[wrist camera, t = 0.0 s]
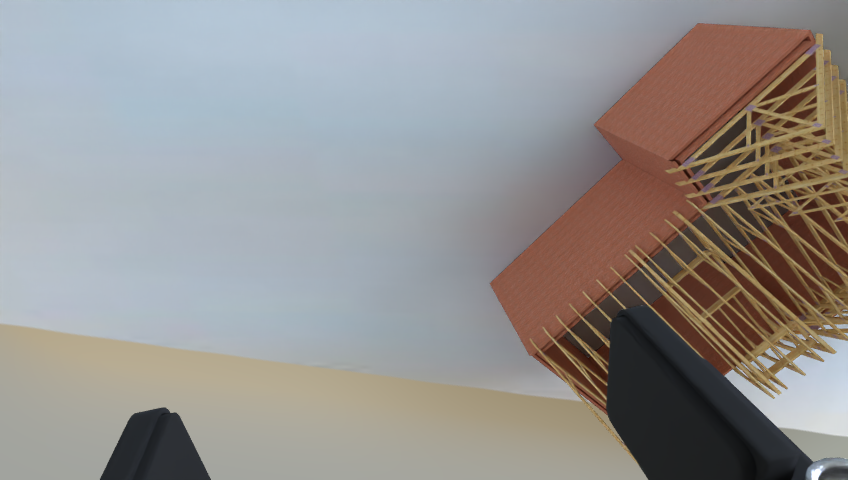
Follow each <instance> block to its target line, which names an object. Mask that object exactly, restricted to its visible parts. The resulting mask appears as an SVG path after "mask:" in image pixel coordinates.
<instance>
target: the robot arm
mask: <svg viewBox="0 0 848 480" xmlns="http://www.w3.org/2000/svg"><path fill="white" fill-rule="evenodd" d="M606 409H607V414H608V417H609V419H610V421H611V423H612V425H613V426H614V428H615V429H616V431H617V433H618V434H619V436H620V437H621V439H622V440H623V441H624V443H625V445H626V446H627V448H628V449H629V451H630V452H631V454H632V455H633V457H634V458H635V460H636V461H637V463H638V464H639V466H640V467H641V469H642V470H643V472H644V474H645V475H646V477H647V478H648V480H848V459H844V458H824V459H821V460H818V461H816V462H813V461H812V460H811V459H810V458H809V457H808V456H806V454H804V453H803V452H802V451H801V450H800V449H799V448H798V447H797V446H796V445H795V444H794V443H793V442H792V441H791V440H790V439H789V438H788V437H787V436H786V435H785V434H784V433H783V432H782V431H781V430H779V428H777V427H776V426H775V425H774V424H773V423H772V422H771V421H770V420H769V419H768V418H767V417H766V416H765V415H764V414H763V413H762V412H761V411H760V410H759V409H758V408H757V407H756V406H755V405H754V404H753V403H751V402H750V401H749V400H748V399H747V398H746V397H745V396H744V395H743V394H742V393H741V392H740V391H739V390H738V389H737V388H736V387H735V386H734V385H733V384H732V383H731V382H730V381H729V380H728V379H727V378H726V377H724V376H723V375H722V374H721V373H720V372H719V371H718V370H717V369H716V368H715V367H714V366H713V365H712V364H711V363H710V362H708V361H707V360H706V359H704V358H702V357H701V356H700V355H699V354H698V353H696V352H695V351H694V350H693V349H692V348H691V347H690V346H689V345H688V344H687V343H686V342H685V341H684V340H683V339H682V338H681V337H680V336H679V335H678V334H677V333H676V332H675V331H674V330H673V329H672V328H671V327H670V326H669V325H668V324H667V323H666V322H665V321H664V320H662V319H661V318H660V317H659V316H658V315H657V314H656V313H655V312H654V311H653V310H652V309H651V308H650V307H648V306H646V305H642V306H637V307H632V308H628V309H623V310H620V311H619V312H618V314H617V318H614V319H612V321H611V328H610V346H609V364H608V382H607V401H606ZM100 480H211V479H210V477H209V475H208V473H207V471H206V469H205V467H204V465H203V463H202V461H201V459H200V457H199V455H198V453H197V451H196V449H195V446H194V444H193V442H192V440H191V438H190V436H189V434H188V432H187V430H186V428H185V426H184V424H183V422H182V420H181V418H180V416H179V415H178V414H177V413H170V411H169V410H168V409H166V408H158V409H153V410H149V411H144V412H139V413H135V414H133V415H132V416H131V418H130V419H129V421H128V423H127V425H126V427H125V429H124V431H123V433H122V435H121V437H120V439H119V441H118V443H117V446H116V447H115V450H114V452H113V454H112V456H111V458H110V460H109V462H108V464H107V466H106V468H105V470H104V472H103V474H102V476H101V478H100Z"/></svg>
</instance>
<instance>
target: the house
mask: <svg viewBox="0 0 848 480" xmlns="http://www.w3.org/2000/svg"><path fill="white" fill-rule="evenodd" d="M741 109H742V111H741V112H739V111H740V110H741ZM738 112H739V113H738ZM736 113H738V114H737V115H736V116H735V117H734V118H733V119H732V120H731V121H730V122H728V121H729V120H730V119H731V118H732V117H733V116H734V115H735V114H736ZM744 115H746V116H747V129H745V130H744V131H743V132H742V133H741V134H740V135H739V136H738V137H736V138H735V139H734V140H733V141H732V142H731V143H730V144H729V145H727V146H726V147H725V148H724V149H723V150H722V151H721V152H720V153H719V154H717V155H715V156H712V157H709V158H705V159H702V160H699V161H695V159H696V158H697V157H698V156H700V155H701V154H702V153H703V152H704V151H705V150H706V149H707V148H708V147H710V146H711V145H712V144H713V143H714V142H715V141H716V140H717V139H718V138H720V137H721V136H722V135H723V134H724V133H725V132H726V131H727V130H728V129H730V128H731V127H732V126H733V125H734V124H735V123H736V122H737V121H738V120H739V119H741V118H742V117H743V116H744ZM727 122H728V123H727ZM725 123H727V124H726V125H725V126H724V127H723V128H722V129H721V130H720V131H718V130H719V129H720V128H721V127H722V126H723V125H724V124H725ZM594 126H595V127H596V128H597V129H598V131H599V132H600V133H601V134H602V135H603V137H604V138H605V139H606V140H607V141H608V143H609V144H610V145H611V146H612V147H613V149H614V150H615V151H616V152H617V153H618V155H619V156H620V157H621V158H622V160H621V161H620V162H619V163H618V164H617V165H616V166H614V167H613V168H612V169H611V170H610V171H609V172H608V173H607V174H606V175H605V176H604V177H603V178H602V179H601V180H600V181H599V182H597V183H596V184H595V185H594V186H593V187H592V188H591V189H590V190H589V191H588V192H587V193H586V194H585V195H584V196H583V197H581V198H580V199H579V200H578V201H577V202H576V203H575V204H574V205H573V206H572V207H571V208H570V209H569V210H568V211H567V212H565V213H564V214H563V215H562V216H561V217H560V218H559V219H558V220H557V221H556V222H555V223H554V224H553V225H552V226H551V227H549V228H548V229H547V230H546V231H545V232H544V233H543V234H542V235H541V236H540V237H539V238H538V239H537V240H536V241H535V242H533V243H532V244H531V245H530V246H529V247H528V248H527V249H526V250H525V251H524V252H523V253H522V254H521V255H520V256H519V257H517V258H516V259H515V260H514V261H513V262H512V263H511V264H510V265H509V266H508V267H507V268H506V269H505V270H504V271H503V272H501V273H500V274H499V275H498V276H497V277H496V278H495V279H494V280H493V281H492V282H491V283H490V285H491V287H492V289H493V291H494V292H495V294H496V296H497V298H498V300H499V301H500V303H501V305H502V307H503V309H504V310H505V312H506V314H507V316H508V318H509V319H510V321H511V323H512V325H513V327H514V328H515V330H516V332H517V334H518V336H519V338H520V339H521V341H522V343H523V345H524V347H525V348H526V350H527V352H528V354H529V356H533V357H534V358H535V359H536V360H538V361H539V362H540V363H542V364H543V365H544V366H545V367H547V368H548V369H549V370H550V371H552V372H553V373H554V374H556V375H557V376H558V377H559V378H561V379H562V380H563V381H565V382H566V383H567V384H568V385H569V386H570V388H571V389H572V390H573V391H574V392H575V393H576V394H577V396H578V397H579V398H580V399H581V400H582V401H583V402H584V404H585V405H586V406H587V407H588V408H589V409H590V410H591V412H592V413H593V414H594V415H595V416H596V417H597V418H598V419H599V421H600V422H601V423H602V424H603V425H604V426H605V427H606V429H608V431H609V432H610V433H611V434H612V435H613V437H614V438H615V439H616V440H617V441H618V442H619V443H620V444H621V446H622V447H623V448H624V449H625V450H626V451H627V453H628V454H629V455H630V456H631V457H632V458H633V459H634V460H635V458H634V457H633V455H632V454H631V452H630V451H629V449H628V448H627V446H626V445H625V444H624V443H623V442H622V441H620V439H619V438H618V437H617V436H616V435H615V434H614V433H613V432H612V430H611V429H610V428H609V427H608V426H607V425H606V424H605V422H604V421H603V420H602V419H601V418H600V417H599V416H598V415H597V414H596V412H595V411H594V410H593V409H592V408H591V407H590V405H589V404H588V403H587V402H586V401H585V400H584V398H583V397H582V396H584V397H585V398H586V399H588V400H589V401H590V402H591V403H593V404H594V405H595V406H597V407H598V408H599V409H600V410H602V411H603V412H604V413H605V414H607V409H606V401H607V382H608V364H609V346H610V340H608V339H607V338H606V337H605V336H604V335H602V334H601V333H600V332H599V331H598V330H597V329H596V328H595V327H593V326H592V325H591V324H590V323H589V322H588V321H587V320H586V319H585V318H584V317H585V316H586V315H587V314H588V313H590V312H591V311H592V310H593V309H594V308H595V307H597V308H598V310H599V311H600V312H601V313H602V314H603V315H604V316H605V317H606V318H607V319H608V320H609V321H610V322H611V321H612V319H611V318H610V317H609V316H608V315H607V314H606V313H605V312H604V311H603V310H602V309H600V308H599V307H598V305H599V304H600V303H601V302H602V301H603V300H604V299H606V298H607V297H608V296H609V295H611V296H612V297H613V298H614V299H615V300H616V301H617V302H618V303H619V304H620V305H621V306H622V307H623V308H624V309H627V308H626V307H625V306H624V305H623V304H622V303H621V302H620V301H619V300H618V299H617V298H616V297H615V296H614V295H613V294H612V293H613V292H614V291H615V290H616V289H617V288H618V287H619V286H621V285H622V284H623V283H624V282H625V283H626V284H627V285H628V286H629V287H630V288H631V289H632V290H633V291H634V292H635V293H636V294H637V295H638V296H639V297H640V298H641V299H642V300H643V301H644V302H645V303H646V304H647V305H648V306H649V307H650V308H651V309H652V310H653V311H654V312H655V313H656V314H657V315H658V316H659V317H660V318H661V319H662V320H664V321H665V322H666V323H667V324H668V325H669V326H670V327H671V328H672V329H673V330H674V331H675V332H676V333H677V334H678V335H679V336H680V337H681V338H682V339H683V340H684V341H685V342H686V343H687V344H688V345H689V346H690V347H691V348H692V349H693V350H694V351H695V352H696V353H698V354H699V355H700V356H701V357H702V358H704V359H706V360H707V361H708V362H710V363H711V364H712V365H713V366H714V367H715V368H716V369H717V370H718V371H719V372H720V373H721V374H722V375H723V376H724V375H725V374H727V373H728V372H729V371H731V370H732V369H733V370H734V371H735V372H737V373H738V374H739V375H741V376H742V377H744V378H745V379H746V380H748V381H749V382H751V383H752V384H753V385H755V386H756V387H758V388H759V389H760V390H762V391H763V392H765V393H766V394H768V395H769V396H770V397H772V398H773V399H774V398H775V397H774V396H773V395H772V394H770V393H769V392H768V391H767V390H766V389H765V388H764V387H763V386H762V385H761V384H760V383H762V384H763V385H765V386H766V387H768V388H769V389H771V390H772V391H774V392H775V393H777V394H778V395H780V394H781V392H780V391H779V390H778V389H777V388H776V387H775V386H774V385H773V384H772V383H771V382H770V381H769V380H768V379H770V380H772V381H773V382H775V383H777V384H779V385H780V386H782V387H784V388H785V389H788V388H787V387H786V386H785V385H784V384H783V383H782V382H781V381H780V380H779V379H778V378H777V377H776V376H775V374H776V373H777V372H779V371H780V370H781V369H783V368H784V367H787V368H789V369H791V370H793V371H795V372H798V373H800V374H802V375H804V376H805V375H806V374H805V373H804V372H803V371H802V370H801V369H799V368H798V367H797V366H796V365H795V364H794V363H793V362H792V361H793V360H795V359H796V358H797V357H799V356H800V355H804V356H807V357H810V358H813V359H816V360H819V361H822V362H824V360H823V359H822V358H821V357H820V356H819V355H818V354H816V353H815V352H814V351H813V350H812V349H811V348H814V349H818V350H821V351H825V352H828V353H832V354H835V353H836V351H835V350H834V349H833V348H832V347H831V346H829V345H828V344H827V343H826V342H825V341H824V340H823V339H821V338H820V337H819V336H818V335H822V336H826V337H831V338H836V339H841V340H846V341H848V336H847V335H845V334H844V333H848V328H847V329H838V328H837V327H836V326H835V324H848V316H843V315H842V314H848V102H847V90H846V81H845V80H843V79H839V69H838V65H831V51H830V50H826V49H824V56H823V34H818V33H816V40H815V38H814V36H813V34H812V32H811V30H803V29H786V28H770V27H753V26H737V25H720V24H704V23H698V24H697V25H696V26H695V27H694V28H693V29H692V30H691V31H690V32H689V33H688V34H687V35H686V36H684V37H683V38H682V39H681V40H680V41H679V42H678V43H677V44H676V45H675V46H674V47H673V48H672V49H671V50H670V51H669V52H668V53H667V54H666V55H665V56H664V57H663V58H662V59H661V60H660V61H659V62H658V63H657V64H656V65H655V66H654V67H653V68H652V69H651V70H650V71H648V72H647V73H646V74H645V75H644V76H643V77H642V78H641V79H640V80H639V81H638V82H637V83H636V84H635V85H634V86H633V87H632V88H631V89H630V90H629V91H628V92H627V93H626V94H625V95H624V96H623V97H622V98H621V99H620V100H619V101H618V102H617V103H616V104H615V105H614V106H612V107H611V108H610V109H609V110H608V111H607V112H606V113H605V114H604V115H603V116H602V117H601V118H600V119H599V120H598V121H597V122H596V123H595V124H594ZM753 129H755V130H756V142H755V143H754V144H752V145H751V131H752V130H753ZM717 131H718V132H717ZM715 132H717V133H716V134H715V135H714V136H713V137H712V138H711V139H710V140H709V141H707V140H708V139H709V138H710V137H711V136H712V135H713V134H714V133H715ZM745 136H746V147H742V148H739V149H735V150H732V151H730V150H731V149H732V148H733V147H734V146H735V145H736V144H738V143H739V142H740V141H741V140H742V139H743V138H744V137H745ZM706 141H707V142H706ZM704 142H706V143H705V144H704V145H703V146H702V147H701V148H700V149H699V150H697V149H698V148H699V147H700V146H701V145H702V144H703V143H704ZM763 146H765V154H764V155H763V156H762V157H760V147H763ZM755 149H756V161H753V162H750V163H746V164H742V165H739V166H737V165H738V164H739V163H740V162H741V161H742V160H744V159H745V158H746V157H747V156H748V155H749V154H750V153H752V152H753V151H754V150H755ZM696 150H697V151H696ZM695 151H696V152H695ZM693 152H695V153H694V154H693V155H692V156H691V157H690V158H689V159H688V160H686V159H687V158H688V157H689V156H690V155H691V154H692V153H693ZM743 152H744V153H743ZM739 153H742V154H741V155H740V156H739V157H738V158H737V159H736V160H735V161H733V162H732V163H731V164H730V165H729V166H728V167H727V168H725V169H724V170H720V171H717V172H713V173H709V174H706V175H704V174H705V172H706V171H707V170H708V169H709V168H711V167H712V166H713V165H714V164H715V163H716V162H717V161H718V160H720V159H722V158H725V157H729V156H732V155H736V154H739ZM685 160H686V161H685ZM694 161H695V162H694ZM705 163H707V164H706V165H705V166H704V167H703V168H702V169H701V170H700V171H698V172H697V173H696V174H694V173H693V172H692V170H691V169H690V168H691V167H695V166H698V165H701V164H705ZM762 164H765V175H762V176H756V175H755V174H753V172H754V171H755V170H757V169H758V168H759V167H760V166H761V165H762ZM746 168H748V169H747V170H746V171H744V172H743V173H742V174H741V175H740V176H739V177H738V178H736V179H735V180H734V181H733V182H732V183H730V184H726V185H722V186H718V187H714V186H715V184H716V183H717V182H719V181H720V180H721V179H722V178H723V177H724V176H725V175H727V174H728V173H731V172H735V171H739V170H742V169H746ZM770 169H771V171H772V173H770ZM778 170H779V171H778ZM783 175H784V176H785V178H784V179H782V177H781V176H783ZM748 176H749V177H750V179H746V178H747V177H748ZM712 177H715V178H714V179H713V180H712V181H711V182H710V183H708V184H707V185H706V186H705V187H704V186H703V185H702V183H701V182H700V181H701V180H705V179H709V178H712ZM771 178H773V188H772V187H770V186H769V185H768V184H766V183H765V182H764V181H763V180H766V179H771ZM745 179H746V180H745ZM786 180H787V181H788V182H789V184H788V185H786V184H785V181H786ZM750 183H754V184H755V185H756V187H757V188H758V190H759V191H757V192H753V193H749V194H747V193H746V192H745V191H743V190H742V189H741V188H740V187H738V186H742V185H746V184H750ZM760 184H762V185H763V186H764V187H765V188H767V189H766V190H764V189H763V188H762V186H761V185H760ZM780 185H781V186H780ZM713 187H714V188H713ZM734 189H735V191H736V192H737V193H738V195H739V196H736V197H731V198H727V199H725V198H724V197H725V196H727V195H728V194H729V193H730V192H731V191H732V190H734ZM721 190H723V191H721ZM790 190H794V192H795V193H796V195H797V196H798V197H796V198H794V196H793V195H792V193H791V191H790ZM717 191H721V192H720V193H719V194H718V195H717V196H716V197H715V198H712V197H711V195H710V194H709V193H713V192H717ZM780 192H785V193H786V194H787V196H788V197H789V199H785V198H784V197H783V196H782V195H780V194H779V193H780ZM771 194H774V195H775V196H777V197H778V198H779V199H780V200H782V201H779V200H776V199H774V198H772V197H770V196H768V195H771ZM762 196H763V197H762ZM758 197H762V198H760V199H759V200H758V201H756V200H754V199H753V198H758ZM763 199H765V200H766V201H767V203H768V204H763V205H761V204H759V203H760V202H761V201H762V200H763ZM748 200H750V201H751V202H753V203H754V204H753V205H752V206H751V205H750V203H749V202H748ZM796 200H800V201H799V202H797V201H796ZM740 201H743V202H744V203H745V205H746V206H747V207H748V209H747V210H750V212H751V213H752V214H753V216H754V217H755V219H756V220H757V221H758V223H759V224H760V226H761V227H762V228H763V230H764V231H763V232H762V233H760V232H759V231H758V230H757V229H755V228H754V227H753V226H752V225H751V224H750V223H748V222H747V221H746V220H745V219H744V218H742V217H741V216H740V215H739V214H738V213H736V212H735V211H734V210H733V209H732V208H730V207H729V206H728V205H727V204H731V203H735V202H740ZM790 202H792V203H793V204H792V203H790ZM781 203H785V204H787V205H788V206H789V207H788V206H786V205H784V204H781ZM776 204H777V205H779V206H781V207H784V208H786V209H788V211H787V212H786V213H785V214H784V215H782V216H781V214H780V213H779V211H778V210H777V208H776V207H775V205H776ZM717 206H721V207H722V208H723V210H724V211H725V212H726V214H727V215H728V216H729V218H730V219H731V220H732V222H733V223H734V224H735V226H736V227H737V228H738V230H739V231H740V232H741V234H742V235H743V236H744V238H745V239H746V240H747V242H748V243H749V244H748V245H746V246H745V247H743V246H742V245H741V244H740V243H739V242H738V241H736V240H735V239H734V238H733V237H732V236H731V235H729V234H728V233H727V232H726V231H725V230H724V229H722V228H721V227H720V226H719V225H718V224H717V223H716V222H714V221H713V220H712V219H711V218H710V217H709V216H707V215H706V214H705V212H706V211H707V210H708V209H709V208H713V207H717ZM766 206H770V207H771V209H772V210H773V212H774V213H775V215H776V216H777V217H775V216H774V215H773V214H772V213H770V212H769V211H768V210H767V209H766V208H764V207H766ZM757 208H760V209H761V210H762V211H764V212H765V213H766V214H767V215H768V216H770V217H771V218H772V219H771V218H769V217H767V216H765V215H763V214H761V213H759V212H757V211H755V210H754V209H757ZM730 212H731V213H733V214H734V215H735V216H736V217H737V218H739V219H740V220H741V221H742V222H743V223H744V224H746V225H747V226H748V227H749V228H750V229H752V230H753V231H754V232H755V233H754V232H753V231H751V230H749V229H747V228H745V227H743V226H742V225H740V224H739V223H738V222H737V221H736V219H735V218H734V217H733V215H732V214H731V213H730ZM701 215H702V216H703V217H704V219H705V220H706V221H707V222H708V224H709V225H710V226H711V227H712V229H713V230H714V231H715V233H716V234H717V235H718V236H719V238H720V239H721V240H722V241H723V243H724V244H725V245H726V247H727V248H728V249H729V250H730V252H731V253H732V254H733V255H734V256H733V257H732V258H730V257H728V256H727V255H726V254H725V253H724V252H723V251H722V250H721V249H719V248H718V247H717V246H716V245H715V244H714V243H713V242H711V241H710V240H709V239H708V238H707V237H706V236H705V235H704V234H702V233H701V232H700V231H699V230H698V229H697V228H696V227H694V226H693V225H692V223H693V222H694V221H695V220H697V219H698V218H699V217H700V216H701ZM758 215H759V216H761V217H763V218H765V219H767V220H769V221H771V222H773V224H772V225H770V226H769V227H768V228H767V227H766V226H765V224H764V223H763V221H762V220H761V219H760V217H759V216H758ZM714 225H715V226H716V227H717V228H718V229H719V230H720V231H721V232H723V233H724V234H725V235H726V236H727V237H728V238H730V239H731V240H732V241H733V242H734V243H735V244H736V245H735V244H734V243H732V242H730V241H729V240H727V239H725V238H724V237H723V236H722V235H721V234H720V232H719V231H718V230H717V228H716V227H715V226H714ZM687 227H688V228H689V229H690V230H691V231H692V232H693V234H694V235H695V236H696V237H697V239H698V240H699V241H700V242H701V243H702V245H703V246H704V247H705V248H706V250H704V251H702V250H700V249H699V248H698V247H697V246H696V245H695V244H694V243H693V242H692V241H690V240H689V239H688V238H687V237H686V236H685V235H684V234H683V233H682V232H683V231H684V230H685V229H686V228H687ZM743 229H744V230H746V231H747V232H749V233H751V234H753V235H755V236H756V238H755V239H754V240H752V241H751V239H750V238H749V237H748V235H747V234H746V233H745V231H744V230H743ZM678 235H680V236H681V237H682V238H683V239H684V240H685V242H686V243H687V244H688V245H689V246H690V248H691V249H692V250H693V251H694V252H695V254H696V255H697V257H696V258H695V259H694V260H693V261H691V262H690V263H689V264H688V265H686V264H685V263H684V262H683V261H682V260H681V259H680V258H679V257H678V256H677V255H676V254H675V253H673V252H672V251H671V250H670V249H669V248H668V247H667V245H668V244H669V243H670V242H671V241H672V240H674V239H675V238H676V237H677V236H678ZM728 243H729V244H731V245H733V246H734V247H736V248H737V249H739V250H740V251H739V252H738V253H737V254H736V253H735V251H734V250H733V249H732V248H731V246H730V245H729V244H728ZM737 245H738V246H737ZM710 246H711V247H712V248H713V249H714V250H713V249H712V248H711V247H710ZM663 248H665V249H666V250H667V251H668V252H669V253H670V255H671V256H672V257H673V258H674V259H675V260H676V261H677V262H678V264H679V265H680V266H681V267H682V268H683V269H682V270H681V271H680V272H679V273H677V274H676V275H675V276H674V277H673V278H671V277H670V276H669V275H668V274H667V273H665V272H664V271H663V270H662V269H661V268H660V267H659V266H658V265H657V264H656V263H655V262H654V261H653V260H652V258H653V257H654V256H655V255H656V254H657V253H659V252H660V251H661V250H662V249H663ZM695 248H696V249H697V250H698V251H699V252H700V253H701V254H699V253H698V252H697V250H696V249H695ZM710 254H711V255H710ZM720 259H722V260H723V261H725V262H726V263H725V264H724V263H723V262H722V261H721V260H720ZM649 260H650V262H651V263H652V264H653V265H654V266H655V267H656V268H657V269H658V270H659V271H660V272H661V273H662V275H663V276H664V277H665V278H666V279H667V280H668V282H667V283H666V282H665V281H664V280H663V279H662V278H661V277H660V276H659V275H658V274H656V273H655V272H654V271H653V270H652V269H651V268H650V267H649V266H648V265H647V264H646V263H647V262H648V261H649ZM698 264H699V265H698ZM683 265H684V266H685V267H684V266H683ZM697 265H698V266H697ZM642 266H644V267H645V268H646V269H647V270H648V271H649V272H650V273H651V275H652V276H653V277H654V278H655V279H656V280H657V281H658V282H659V283H660V284H661V285H662V286H663V287H664V288H665V290H666V291H667V292H664V291H663V290H662V289H661V288H660V287H659V286H658V285H657V284H656V283H655V282H654V281H653V280H652V279H651V278H650V277H649V276H648V275H647V274H646V273H645V272H644V271H643V270H642V269H641V267H642ZM638 270H640V271H641V272H642V273H643V274H644V275H645V277H646V278H647V279H648V280H649V281H650V282H651V283H652V284H653V285H654V286H655V287H656V288H657V289H658V290H659V291H660V292H661V293H662V294H663V295H662V296H661V297H660V298H658V299H657V300H656V301H655V302H654V303H653V304H651V305H649V304H648V303H647V302H646V301H645V300H644V299H643V298H642V297H641V296H640V295H639V294H638V293H637V292H636V291H635V290H634V289H633V288H632V287H631V286H630V285H629V284H628V283H627V282H626V280H628V279H629V278H630V277H631V276H632V275H633V274H634V273H636V272H637V271H638ZM685 275H686V276H685ZM684 276H685V277H684ZM678 281H679V282H678ZM672 286H673V287H672ZM671 287H672V288H671ZM842 310H847V311H842ZM837 314H838V315H839V316H840V317H834V316H836V315H837ZM581 319H582V320H583V321H584V322H585V323H586V324H587V325H588V326H589V327H590V328H591V329H592V330H593V331H594V332H595V333H596V334H597V335H598V337H599V338H600V339H601V340H602V341H603V342H604V343H605V344H604V345H603V346H602V347H600V348H599V349H598V350H597V351H594V350H593V349H592V348H591V347H590V346H589V345H588V344H586V343H585V342H584V341H583V340H582V339H581V338H579V337H578V336H577V335H576V334H575V333H574V332H572V331H571V330H570V329H571V328H572V327H573V326H575V325H576V324H577V323H578V322H579V321H580V320H581ZM823 325H830V326H831V327H832V328H833V329H825V328H824V326H823ZM820 327H821V328H822V329H819V328H820ZM817 329H819V330H817ZM568 331H569V332H570V333H571V335H572V336H573V337H574V338H575V339H576V340H577V341H578V342H579V343H580V344H581V345H582V346H583V348H584V349H585V350H586V351H587V352H588V353H589V354H590V355H591V356H590V357H589V358H588V357H587V356H585V355H584V354H583V353H582V352H581V351H579V350H578V349H577V348H576V347H575V346H574V345H572V344H571V343H570V342H569V341H568V340H566V339H565V338H564V337H563V335H564V334H565V333H567V332H568ZM793 332H794V333H795V334H802V335H803V336H804V338H805V339H806V340H803V339H800V338H799V337H797V336H796V335H795V334H794V333H793ZM789 333H790V334H791V335H790V334H789ZM838 333H839V334H838ZM809 335H811V336H812V337H813V338H814V339H816V340H817V341H818V342H819V343H820V344H819V343H817V342H816V341H815V340H814V339H813V338H811V337H809ZM601 336H602V337H603V338H604V339H605V340H604V339H603V338H602V337H601ZM780 339H783V340H786V341H790V342H793V343H794V344H795V345H796V348H794V347H790V346H787V345H784V344H783V343H782V342H780V341H779V340H780ZM778 342H779V343H778ZM798 344H800V345H798ZM774 345H775V346H774ZM585 346H586V347H587V348H589V349H590V350H591V352H592V353H593V354H592V353H591V352H590V351H589V350H588V349H587V348H586V347H585ZM776 346H778V347H781V348H784V349H787V350H790V351H791V352H790V353H788V354H787V355H786V356H785V355H784V354H783V353H782V352H781V351H780V350H779V349H778V348H777V347H776ZM810 347H811V348H810ZM768 348H771V350H772V351H773V352H774V353H775V354H776V355H777V357H778V358H779V359H780V360H778V359H775V358H773V357H771V356H769V355H768V354H767V353H765V351H766V350H767V349H768ZM774 349H775V350H776V351H777V352H778V353H780V354H781V355H782V356H783V358H781V357H780V356H779V354H778V353H777V352H776V351H775V350H774ZM807 350H809V351H810V352H811V353H810V352H806V351H807ZM759 355H760V356H762V357H765V358H767V359H769V360H771V361H773V362H776V363H775V364H774V365H773V366H771V367H770V368H769V369H767V368H766V367H765V366H764V365H763V364H762V363H761V362H760V361H759V360H758V359H757V357H758V356H759ZM752 361H754V362H755V363H756V364H757V365H758V366H759V367H760V369H761V370H762V371H763V372H762V371H761V370H759V369H757V368H755V367H754V366H753V365H752V364H751V363H750V362H752ZM741 362H742V363H744V364H745V365H746V366H747V367H748V368H749V369H750V370H751V371H752V372H751V371H749V370H748V369H747V368H746V367H745V366H744V365H742V364H741ZM789 363H790V364H791V365H789ZM760 365H761V366H762V367H763V368H764V369H765V370H766V371H765V370H764V369H763V368H762V367H761V366H760ZM792 365H793V366H792ZM736 366H737V367H738V368H739V369H741V370H742V371H743V372H744V373H745V374H746V375H747V376H748V377H749V378H750V379H749V378H748V377H746V376H745V375H744V374H743V373H742V372H740V371H739V370H738V369H737V368H736ZM758 381H759V382H760V383H759V382H758ZM580 394H581V395H582V396H581V395H580ZM607 415H608V414H607ZM635 462H636V463H637V461H636V460H635ZM637 464H638V463H637ZM638 465H639V464H638Z"/></svg>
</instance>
